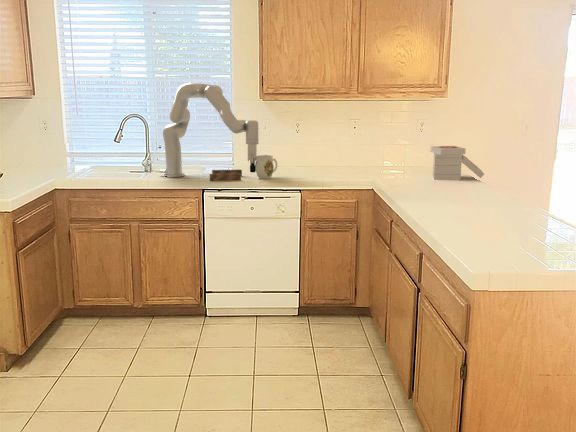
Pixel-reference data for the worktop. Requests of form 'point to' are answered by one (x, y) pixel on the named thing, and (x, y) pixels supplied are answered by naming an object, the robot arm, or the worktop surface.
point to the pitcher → (265, 166)
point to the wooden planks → (226, 175)
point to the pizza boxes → (451, 163)
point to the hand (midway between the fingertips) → (252, 172)
